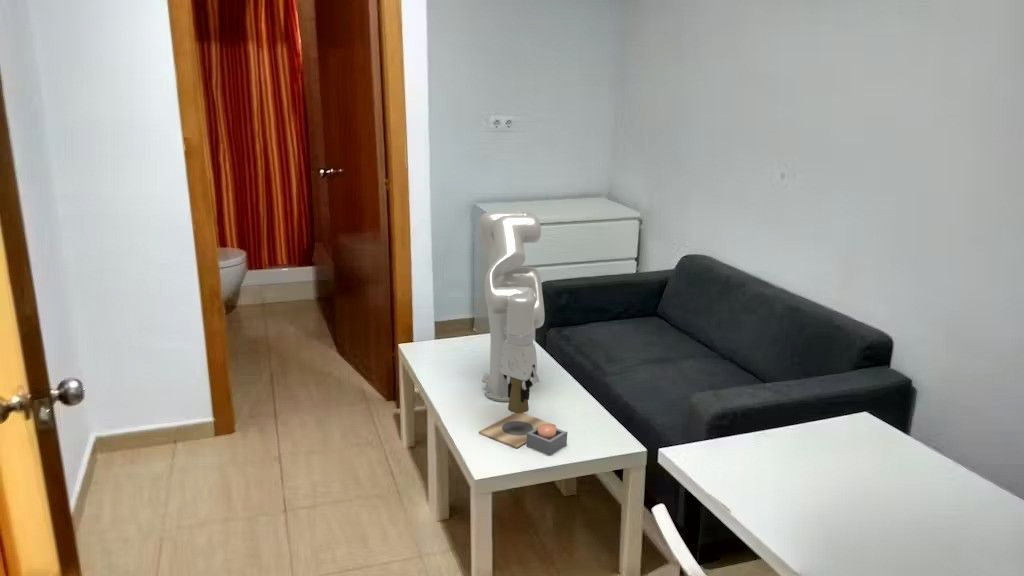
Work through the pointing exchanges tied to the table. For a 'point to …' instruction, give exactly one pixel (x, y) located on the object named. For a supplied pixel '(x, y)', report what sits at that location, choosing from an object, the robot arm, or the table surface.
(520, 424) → the wooden board
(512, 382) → the pepper shaker
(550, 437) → the button
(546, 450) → the button housing
